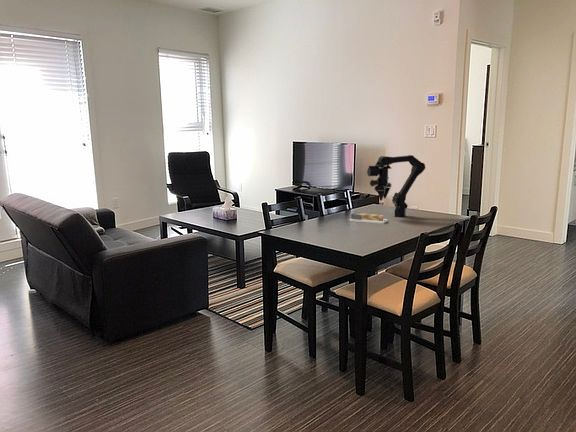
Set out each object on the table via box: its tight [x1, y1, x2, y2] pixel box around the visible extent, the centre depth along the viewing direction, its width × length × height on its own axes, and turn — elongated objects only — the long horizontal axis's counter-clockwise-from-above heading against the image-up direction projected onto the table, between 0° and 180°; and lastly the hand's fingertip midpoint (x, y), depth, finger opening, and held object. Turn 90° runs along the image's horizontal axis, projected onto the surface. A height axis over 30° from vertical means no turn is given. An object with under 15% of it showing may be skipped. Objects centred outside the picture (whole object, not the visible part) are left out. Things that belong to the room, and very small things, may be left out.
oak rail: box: [354, 212, 384, 221], centre depth 295 cm, size 18×4×3 cm, turn 62°
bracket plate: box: [349, 212, 388, 225], centre depth 295 cm, size 22×9×4 cm, turn 63°
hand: (382, 199), depth 304 cm, fingers open, 9 cm apart
